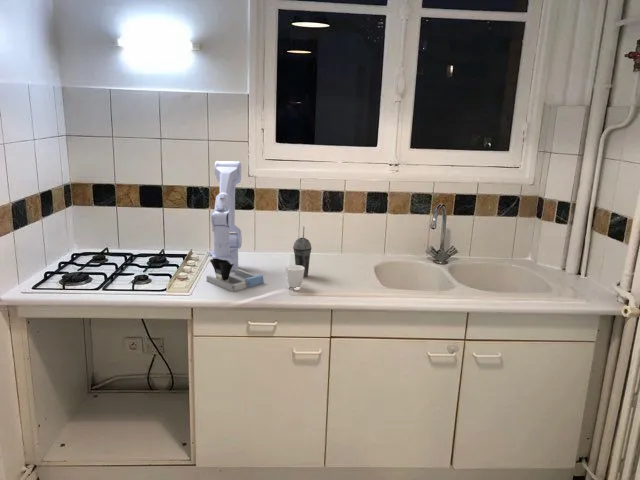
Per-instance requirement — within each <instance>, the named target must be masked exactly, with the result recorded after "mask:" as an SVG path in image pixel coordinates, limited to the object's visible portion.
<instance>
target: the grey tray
mask: <svg viewBox="0 0 640 480" xmlns="http://www.w3.org/2000/svg"><path fill="white" fill-rule="evenodd" d="M205 277H206V282H207V283H208V284H211V285H214V286H215V287H216V286H217V287H219V288H221V289H223V290H226V291H228V292H232V293H233V292H236V291H240V290H243V289H247V288H251V287H255V286H258V285H261V284H264V283H265V282H264V281H265V279H264V274H263V275H262V274H254V273H251V272H248V271H245V270H243V269H241V268H239V267H238V268H237V269H235V270H234V274H231V273H230V274H229V282H228V283H227V282H225V281H222V280H220V279H217V278H216V276H212V275H206V276H205Z"/></svg>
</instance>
